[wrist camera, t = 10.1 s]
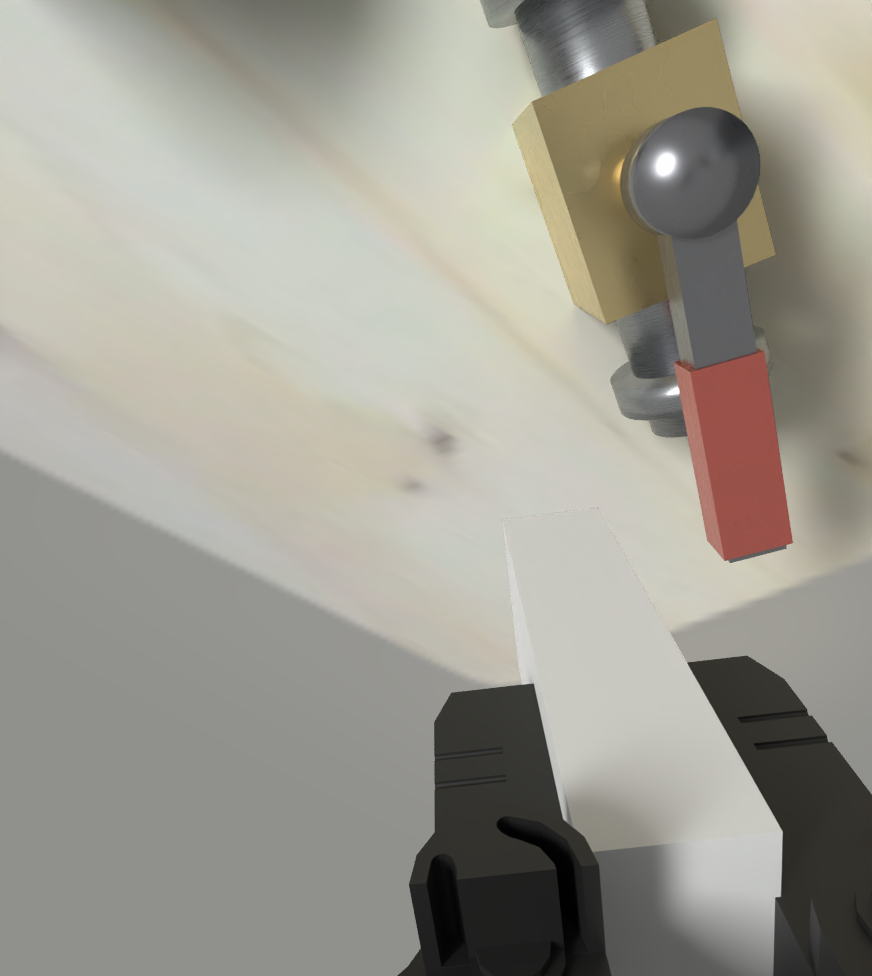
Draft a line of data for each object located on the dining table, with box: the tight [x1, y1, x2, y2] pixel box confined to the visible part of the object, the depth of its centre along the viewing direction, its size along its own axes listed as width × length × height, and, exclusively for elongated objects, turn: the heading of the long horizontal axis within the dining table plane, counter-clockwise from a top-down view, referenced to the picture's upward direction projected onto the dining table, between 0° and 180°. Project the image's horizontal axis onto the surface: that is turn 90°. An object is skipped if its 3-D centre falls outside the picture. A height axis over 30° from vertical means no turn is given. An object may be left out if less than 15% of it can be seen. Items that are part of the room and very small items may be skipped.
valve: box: [480, 0, 776, 437], centre depth 29 cm, size 20×6×9 cm, turn 23°
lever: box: [620, 107, 793, 563], centre depth 25 cm, size 15×4×2 cm, turn 16°
